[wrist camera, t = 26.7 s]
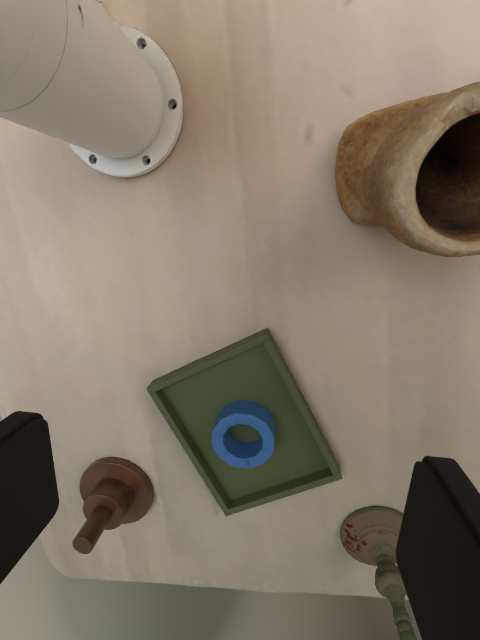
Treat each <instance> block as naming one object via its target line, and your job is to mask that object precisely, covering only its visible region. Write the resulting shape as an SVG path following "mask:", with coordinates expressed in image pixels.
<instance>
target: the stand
mask: <svg viewBox="0 0 480 640" xmlns="http://www.w3.org/2000/svg"><path fill="white" fill-rule="evenodd" d="M80 493H81V496H82V499H83V501H84V504H83V513H84V515H85V517H86V519H87V520H86V522H85V523H84V525H83V526H82V528H81V529H80V531H79V532H78V534H77V535H76V537H75V538H74V540H73V547H74V549H75V550H76V551H78V552H79V553H82V554H88V553H90V552H91V551H92V549H93V548H94V546H95V544H96V543H97V541H98V539H99V538H100V536H101V534H102V532H103V531H104V529H105V530H111V529H115V528H117V527H119V526H120V525H121V524H127V523H132V522H135V521H138V520H139V519H141V518H142V517H143V516H144V515H145V514H146V513H147V511H148V510H149V507H150V505H151V503H152V500H153V487H152V484H151V481H150V479H149V478H148V476H147V475H146V474H145V472H144V471H143V470H142V469H141V468H139V467H138V466H137V465H135V464H134V463H132V462H130V461H128V460H125V459H122V458H117V457H106V458H102V459H99V460H97V461H95V462H93V463H92V464H91V465H90V466H89V467H88V468H87V470H86V471H85V472H84V474H83V475H82V477H81V480H80Z"/></svg>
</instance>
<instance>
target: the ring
mask: <svg viewBox="0 0 480 640" xmlns="http://www.w3.org/2000/svg"><path fill="white" fill-rule="evenodd" d="M236 424H244V425H250V426H251V427H253V428H254V429H256V430H258V432H259V433H260V435H261V437H260V438H259V439H258V440H256V441H253V442H250V443H248V442H240V441H238V440H236V439H235V438H233V437H232V436H231V434H230V433H229V431H228V428H229V427H231V426H234V425H236ZM274 441H275V421H274V420H273V418H272V416H271V414H270V412H269V411H268V409H266V408H264V407H263V406H261V405H260V404H258V403H257V402H255V401H247V400H237V401H235V402H233V403H230V404H228V405H225V406H224V408H223V409H222V410H221V412H220V413H219V415H218V416H217V419H216V421H215V424H214V427H213V430H212V447H213V448H214V450H215V452H216V453H217V455H218V456H219V458H220V459H222V460H223V461H225V462H227V463H228V464H230V465H231V466H234V467H239V468H247V469H251V468H253V467H256V466H259V465H262V464H264V463H265V462H266V461H267V460H268V458H269V457H270V456H271V455H272V454H273V452H274Z"/></svg>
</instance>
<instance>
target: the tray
mask: <svg viewBox="0 0 480 640" xmlns="http://www.w3.org/2000/svg"><path fill="white" fill-rule="evenodd" d="M147 391H148V392H149V394H150V396H151V397H152V399H153V400H154V402H155V404H156V405H157V407H158V408H159V410H160V412H161V413H162V415H163V416H164V418H165V419H166V421H167V423H168V424H169V426H170V427H171V429H172V431H173V432H174V434H175V435H176V437H177V439H178V440H179V442H180V443H181V445H182V447H183V448H184V450H185V451H186V453H187V455H188V456H189V458H190V459H191V461H192V463H193V464H194V466H195V467H196V469H197V471H198V472H199V474H200V475H201V477H202V479H203V480H204V482H205V483H206V485H207V487H208V488H209V490H210V491H211V493H212V495H213V496H214V498H215V499H216V501H217V503H218V504H219V506H220V507H221V509H222V511H223V512H224V514H225V515H226V516H228V515H231V514H234V513H237V512H240V511H243V510H246V509H250V508H253V507H256V506H259V505H262V504H265V503H268V502H271V501H274V500H278V499H281V498H284V497H287V496H290V495H293V494H296V493H299V492H302V491H306V490H309V489H312V488H315V487H318V486H321V485H324V484H327V483H330V482H334V481H337V480H340V479H342V474H341V470H340V466H339V464H338V462H337V460H336V458H335V456H334V454H333V452H332V451H331V449H330V447H329V445H328V443H327V441H326V439H325V437H324V435H323V433H322V431H321V429H320V428H319V426H318V424H317V422H316V420H315V418H314V416H313V414H312V412H311V410H310V408H309V406H308V404H307V403H306V401H305V399H304V397H303V395H302V393H301V391H300V389H299V387H298V385H297V383H296V381H295V379H294V378H293V376H292V374H291V372H290V370H289V368H288V366H287V364H286V362H285V360H284V358H283V356H282V355H281V353H280V351H279V349H278V347H277V345H276V343H275V341H274V339H273V337H272V335H271V333H270V331H269V330H268V328H266V329H264V330H262V331H260V332H258V333H255V334H253V335H251V336H249V337H247V338H245V339H242V340H240V341H238V342H236V343H234V344H232V345H229V346H227V347H225V348H223V349H221V350H218V351H216V352H214V353H212V354H210V355H208V356H205V357H203V358H201V359H199V360H197V361H195V362H192V363H190V364H188V365H186V366H184V367H182V368H179V369H177V370H175V371H173V372H171V373H169V374H166V375H164V376H162V377H160V378H158V379H156V380H153V381H152V382H151V384H150V385H149V386H148V387H147ZM237 400H247V401H255V402H257V403H258V404H260V405H261V406H263V407H264V408H266V409H268V411H269V412H270V414H271V416H272V418H273V420H274V421H275V441H274V452H273V454H272V455H271V456H270V457H269V458H268V460H267V461H266V462H265V463H264V464H262V465H259V466H256V467H253V468H251V469H247V468H239V467H234V466H231V465H230V464H228V463H227V462H225V461H223V460H222V459H220V458H219V456H218V455H217V453H216V452H215V450H214V448H213V447H212V430H213V427H214V424H215V421H216V419H217V416H218V415H219V413H220V412H221V410H222V409H223V408H224V406H225V405H228V404H230V403H233V402H235V401H237ZM228 431H229V433H230V434H231V436H232V437H233V438H235V439H236V440H238V441H240V442H248V443H250V442H253V441H256V440H258V439H259V438H260V437H261V435H260V433H259V432H258V430H256V429H254V428H253V427H251V426H250V425H244V424H236V425H234V426H231V427H229V428H228Z"/></svg>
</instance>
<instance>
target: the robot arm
mask: <svg viewBox="0 0 480 640" xmlns="http://www.w3.org/2000/svg"><path fill="white" fill-rule="evenodd" d="M144 46H146V47H145V48H144V49H143V47H144ZM174 105H177V107H176V108H175V109H173V106H174ZM183 112H184V110H183V95H182V91H181V86H180V82H179V79H178V77H177V74H176V72H175V69H174V67H173V66H172V64H171V62H170V61H169V59H168V57H167V56H166V55H165V53H164V52H163V51H162V49H161V48H160V47H159V46H158V45H157V44H156V43H155V42H154V41H153V40H152V39H151V38H150V37H148V36H147V35H145V34H144V33H142V32H140V31H139V30H137V29H134V28H131V27H128V26H125V25H118V24H117V23H116V22H115V21H114V20H113V18H112V17H111V16H110V15H109V14H108V12H107V11H106V10H105V9H104V8H103V6H102V5H101V4H100V3H99V2H98V0H0V117H1V118H4V119H7V120H9V121H12V122H14V123H17V124H20V125H22V126H25V127H28V128H30V129H33V130H36V131H38V132H41V133H44V134H46V135H49V136H52V137H54V138H57V139H59V140H62V141H65V142H67V143H68V145H69V146H70V147H71V149H72V150H73V152H74V153H75V154H76V155H77V156H78V157H79V158H80V159H81V160H82V161H83V162H84V163H86V164H87V165H89V166H90V167H91V168H93V169H95V170H97V171H99V172H101V173H103V174H107V175H110V176H114V177H122V178H128V177H137V176H140V175H143V174H146V173H148V172H150V171H151V170H153V169H155V168H156V167H158V166H159V165H160V164H161V163H162V162H163V161H164V160H165V159H166V158H167V157H168V155H169V154H170V153H171V151H172V150H173V148H174V146H175V144H176V142H177V140H178V137H179V134H180V130H181V127H182V120H183ZM96 159H97V162H96ZM148 159H150V163H149V164H148V163H147V161H148ZM58 505H59V497H58V490H57V483H56V476H55V469H54V462H53V456H52V449H51V442H50V435H49V428H48V423H47V421H46V420H44V419H43V416H42V415H41V414H39V413H31V412H22V411H17V412H14V413H12V414H11V415H9V416H8V417H6V418H5V419H3V420H2V421H1V422H0V584H1V583H2V581H3V580H4V579H5V578H6V576H7V575H8V574H9V573H10V571H11V570H12V569H13V567H14V566H15V565H16V563H17V562H18V561H19V560H20V559H21V557H22V556H23V555H24V553H25V552H26V551H27V550H28V548H29V547H30V546H31V545H32V543H33V542H34V541H35V540H36V538H37V537H38V536H39V534H40V533H41V532H42V531H43V529H44V528H45V527H46V526H47V524H48V523H49V522H50V520H51V519H52V518H53V517H54V515H55V513H56V511H57V509H58ZM396 560H397V565H398V569H399V572H400V575H401V578H402V581H403V584H404V587H405V590H406V593H407V596H408V599H409V602H410V604H411V608H412V610H413V614H414V617H415V620H416V623H417V626H418V629H419V631H420V634H421V638H422V640H480V494H479V492H478V491H477V489H476V488H475V487H474V485H473V484H472V483H471V481H470V480H469V478H468V477H467V476H466V474H465V473H464V472H463V470H462V469H461V467H460V466H459V465H458V463H457V462H456V461H455V460H453V459H451V458H442V457H433V456H425V457H424V458H423V460H422V462H419V461H418V462H416V463H415V465H414V469H413V473H412V478H411V483H410V487H409V492H408V496H407V501H406V505H405V510H404V514H403V519H402V523H401V528H400V532H399V537H398V541H397V546H396Z"/></svg>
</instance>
